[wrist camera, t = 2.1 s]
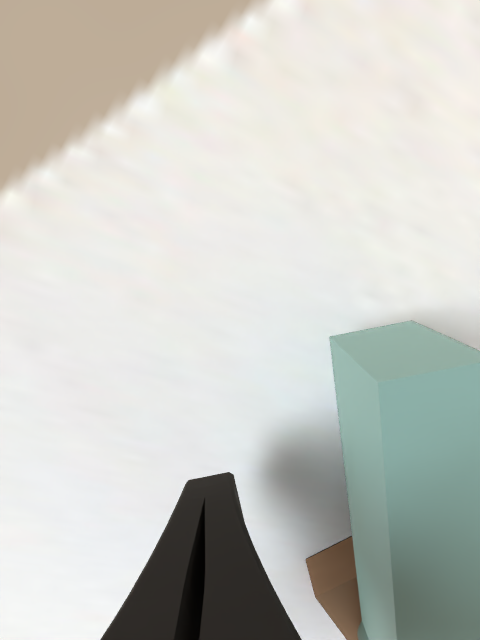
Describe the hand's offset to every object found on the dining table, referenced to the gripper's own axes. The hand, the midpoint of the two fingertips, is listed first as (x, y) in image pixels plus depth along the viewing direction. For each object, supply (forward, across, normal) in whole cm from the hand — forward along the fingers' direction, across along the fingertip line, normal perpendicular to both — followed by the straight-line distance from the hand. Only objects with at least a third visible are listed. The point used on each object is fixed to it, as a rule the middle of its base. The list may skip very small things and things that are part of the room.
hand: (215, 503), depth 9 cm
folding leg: (+1, -5, +3) cm, 6 cm away
